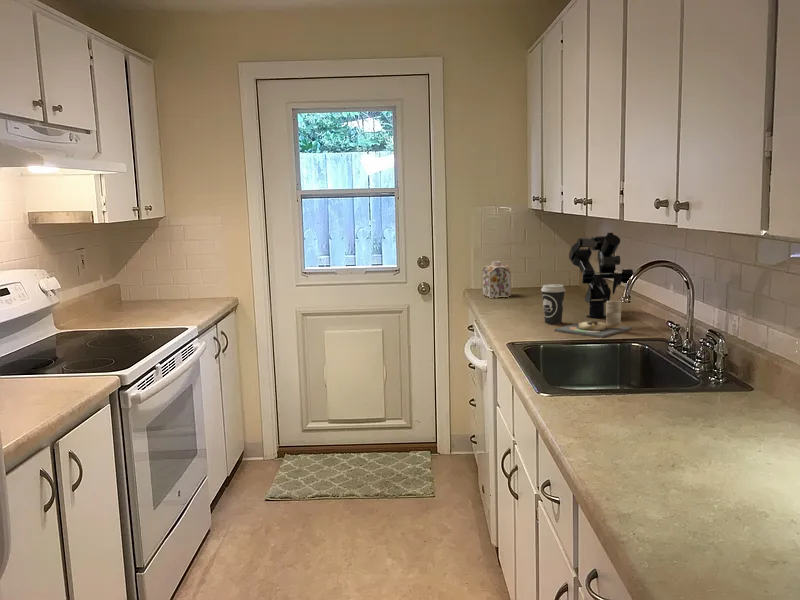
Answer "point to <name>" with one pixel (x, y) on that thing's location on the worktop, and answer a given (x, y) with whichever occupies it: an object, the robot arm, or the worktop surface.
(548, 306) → the coffee cup
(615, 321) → the beige boot
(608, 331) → the board
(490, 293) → the decorative jar
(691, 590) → the worktop surface
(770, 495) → the worktop surface
